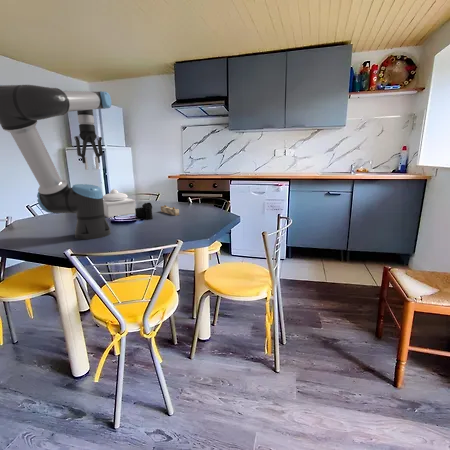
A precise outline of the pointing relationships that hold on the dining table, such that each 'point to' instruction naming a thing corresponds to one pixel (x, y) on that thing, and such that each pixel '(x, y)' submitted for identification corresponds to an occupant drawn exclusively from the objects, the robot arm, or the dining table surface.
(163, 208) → the oak ledge rail
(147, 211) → the film camera
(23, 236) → the dining table surface
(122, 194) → the white lidded box
